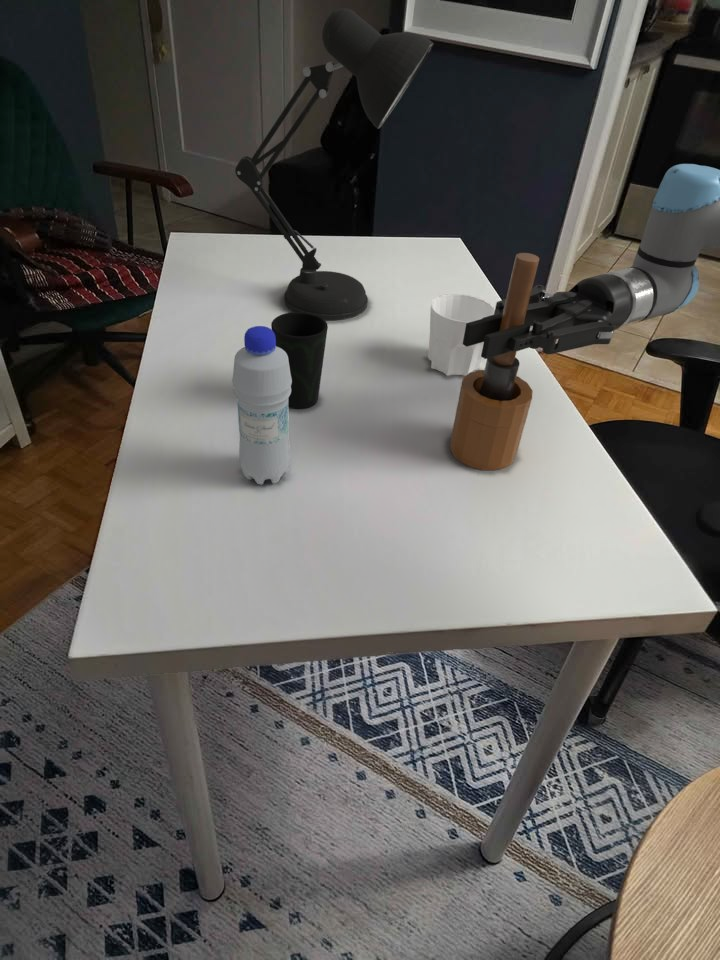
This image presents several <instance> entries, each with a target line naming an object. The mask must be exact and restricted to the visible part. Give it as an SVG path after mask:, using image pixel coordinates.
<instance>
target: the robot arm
mask: <svg viewBox="0 0 720 960" xmlns="http://www.w3.org/2000/svg"><path fill="white" fill-rule="evenodd" d="M637 248H638V249H637V252H636V253H635V256H634V259H633V262H632V265H631V266H628V267H625V268H621V269H617V270H612V271H608V272H604V273H603V274H597V275H595V276H591V277H587V278H584V279H581V280H580V281H578V282H577V283H576V284H575V285H574V286H573V287H572V288H571V289H569V290H568V291H556V292H555V293H554V294H552V293H549V292H547V291H546V290H545V288H546V287H545V286H544V285H543V284H535V286H534V287H532V291H531V295H530V299H529V303H528V307H527V311H526V315H525V319H524V324H523V325H519V326H516V327H512V328H509V329H505V330H502V331H499V329H500V325H501V320H502V316H503V311H504V307H505V302H506V298H503V299H501V300H498V301H496V303H495V306H494V309H495V312H494V315H491V316H487V317H483V318H482V319H480V320H476V321H473V322H469V323H466V328H465V333H464V339H463V345H465V346H466V347H468V346H471V345H474V344H478V343H481V342H484V344H483V349H482V354H481V357H482V359H484V360H487V359H488V358H491V357H494V356H497V355H500V354H504V353H507V352H510V351H517V352H519V351H522V350H526V349H532V350H537V349H542V354H543V353H544V354H545V355H554V354H559V353H563V352H567V351H571V350H577V349H580V348H584V347H585V348H586V347H588V346H593V345H610V343H611V340H612V338H613V336H614V332H615V331H616V330H619V329H622V328H625V327H628V326H631V325H634V324H638V323H641V322H644V321H648V320H651V319H655V318H657V317H662V316H667V315H670V314H672V313H674V312H675V311H677V310H679V309H681V308H683V307H685V306H687V305H688V304H690V303H691V302H692V301H693V299H694V298H695V297H696V295H697V293H698V291H699V287H700V277H699V276H700V273H699V270H698V268H697V266H696V265H695V264H696V262H697V259H698V258H699V255H700V253H701V251H702V249H713V250H714V249H717V250H720V169H718V168H715V167H712V166H707V165H699V164H695V163H679V164H676V165H673V166H671V167H670V168H669V169H667V171H666V172H665V174H664V176H663V177H662V180H661V182H660V184H659V187H658V189H657V192H656V194H655V196H654V198H653V201H652V206H651V209H650V212H649V215H648V218H647V222H646V226H645V227H644V231H643V234H642V238H641V241H640V243H639V246H638V247H637ZM531 327H532V328H531Z"/></svg>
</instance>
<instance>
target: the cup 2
mask: <svg viewBox="0 0 720 960" xmlns="http://www.w3.org/2000/svg"><path fill="white" fill-rule="evenodd" d="M429 311H430V313H429V315H430V316H429V339H428V340H429V341H428V353H427V356H428V357H427V359H428V360H429V361H430V362H431V364H430V369H433V370H437V371H439V372H441V373H443V374H444V375H446V377H449V376H464V377H465V376H466V375H468V374H469V373H471V372H474V371H478V370H480V369H479V368H480V365H481V362H482V359H483V357H481V354H482V349H483V344H484V342H481V343H478V344H474V345H471V346H468V347H466V346H465V345H463V339H464V333H465V328H466V323H469V322H473V321H476V320H480V319H482V318H483V317H487V316H491V315H494V312H495V306H493V305H492V304H491V303H490V302H488V301H486V300H485V299H482V298H480V297H478V296H474V295H470V294H462V293H452V294H451V293H448V294H443V295H439V296H437V297H435V298H433V299H432V300H431V302H430V310H429Z"/></svg>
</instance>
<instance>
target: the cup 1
mask: <svg viewBox="0 0 720 960" xmlns="http://www.w3.org/2000/svg"><path fill="white" fill-rule="evenodd" d="M270 327H271V330H272V331H273V332H274V334H275V338H276V347H279V348H281V349H282V350H284V351H285V352H286V354H287V356H288V360H289V367H290V373H291V378H292V384H291V394H290V396H289V397H288V408H290V409H292V410H293V409H294V410H306V409H309V408H312V407H314V406H315V405H317V403H318V401H319V394H320V388H321V380H322V373H323V367H324V366H323V365H324V359H325V350H326V343H327V337H328V328H329V326H328V322H327V320H324V319H323V318H321V317H319V316H317V315H314V314H311V313H306V312H293V311H290V312H286V313H282V314H279V315H278V316H275V318H274V319H272V321H271V326H270Z"/></svg>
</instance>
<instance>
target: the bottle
mask: <svg viewBox="0 0 720 960" xmlns="http://www.w3.org/2000/svg"><path fill="white" fill-rule="evenodd" d="M243 337H244V338H243V341H244V346H243V347H242V348H240V349H238V351H236V353H235V355H234V358H233V369H232V379H231V383H232V386H233V394H234V396H235V398H236V402H237V417H238V432H239V446H238V447H239V448H238V455H239V456H238V457H239V458H238V459H239V465H240V469H241V471H242V473H243V475H244V477H245V478H246V479H247V480H253V479H254V481H255V482H256V484H257V485H264V484H265V483H264V482H265V480H270V482H271V483H272V484H277V483H278V482H279V481H280V479H281V478H282V477H285V476H287V474H288V473H289V472H290V471H289V470H290V466H291V446H290V445H291V443H290V436H289V435H290V433H289V431H290V429H289V427H290V425H289V424H290V423H289V422H290V421H289V415H290V414H289V413H290V411H289V407H288V397H289V396H290V394H291V384H292V378H291V373H290V367H289V360H288V356H287V354H286V352H285V351H284V350H282V349H281V348H279V347H276V338H275V334H274V332H273V331H272V328H270V327H268V326H264V325H256V326H252V327H249V328H248V329H247V330H246V331H245V333H244V336H243Z"/></svg>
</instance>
